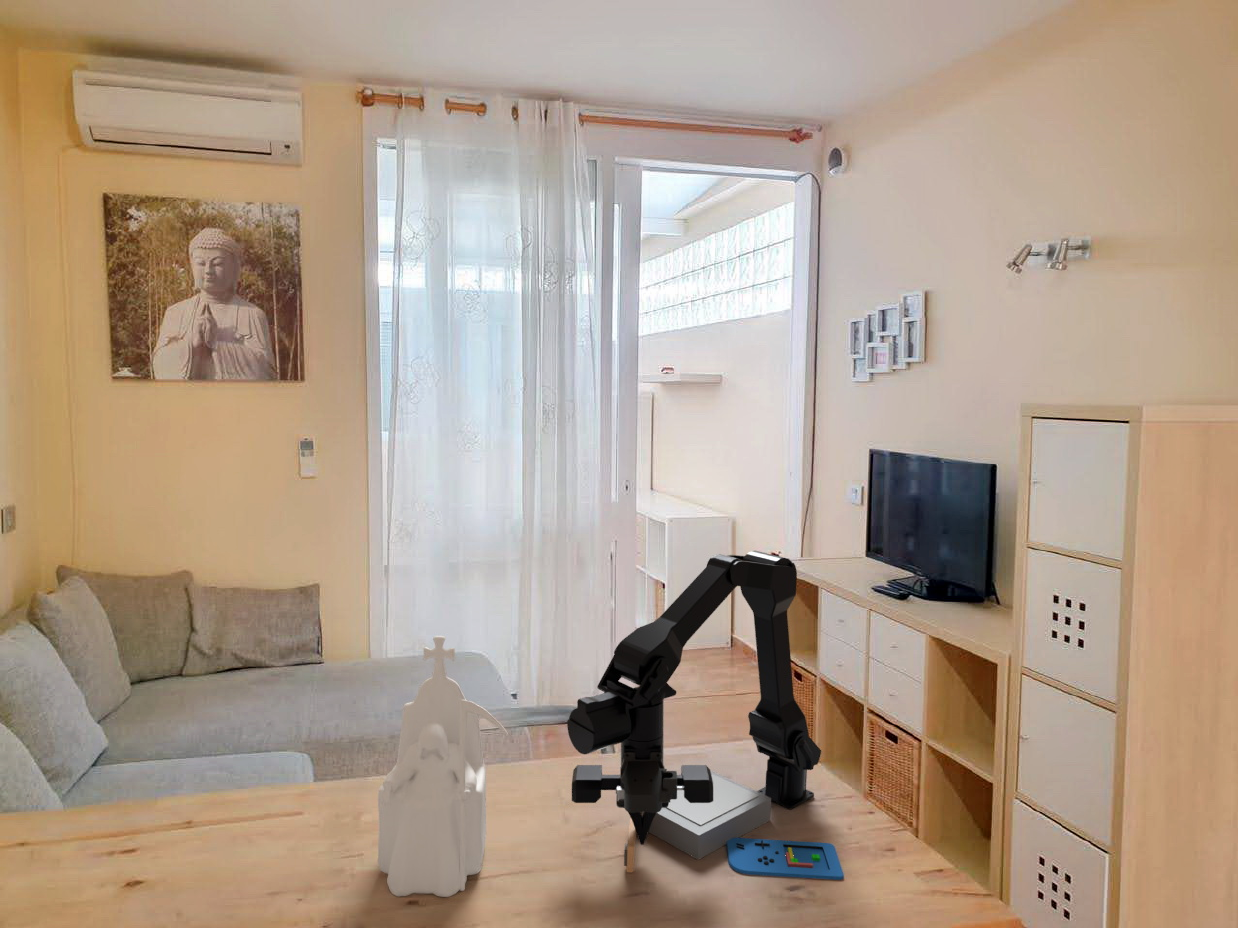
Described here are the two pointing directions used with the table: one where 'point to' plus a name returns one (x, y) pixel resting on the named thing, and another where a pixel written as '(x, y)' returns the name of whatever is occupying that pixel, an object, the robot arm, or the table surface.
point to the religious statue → (435, 790)
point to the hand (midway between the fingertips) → (642, 843)
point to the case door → (630, 848)
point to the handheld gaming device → (784, 858)
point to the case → (711, 817)
